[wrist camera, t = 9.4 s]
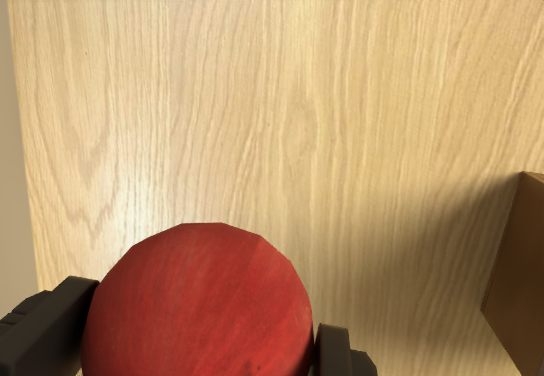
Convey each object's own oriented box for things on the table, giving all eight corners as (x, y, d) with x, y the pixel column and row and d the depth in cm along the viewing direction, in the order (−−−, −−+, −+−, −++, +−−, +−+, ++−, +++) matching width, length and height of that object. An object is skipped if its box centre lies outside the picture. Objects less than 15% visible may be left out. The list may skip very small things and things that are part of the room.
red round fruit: (318, 345, 16) (317, 610, 8) (158, 345, 17) (23, 591, 9) (311, 184, 15) (301, 332, 7) (134, 191, 15) (-54, 333, 8)
